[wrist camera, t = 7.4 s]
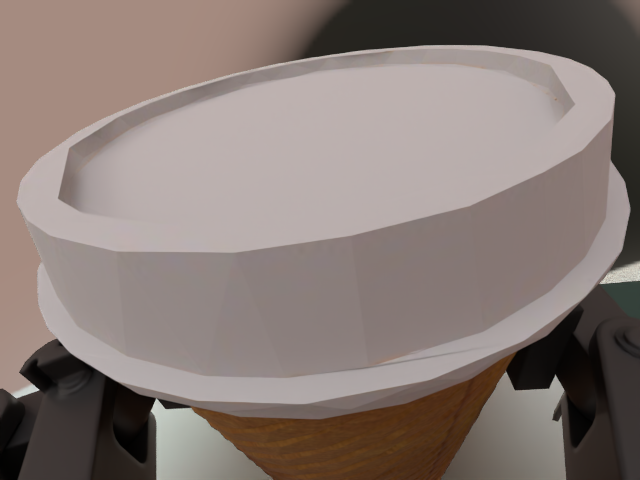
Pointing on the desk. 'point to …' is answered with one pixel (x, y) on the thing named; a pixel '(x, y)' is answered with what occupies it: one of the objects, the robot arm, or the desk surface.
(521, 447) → the desk surface
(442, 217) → the disposable coffee cup
